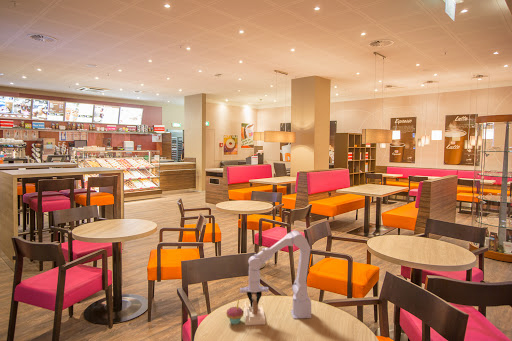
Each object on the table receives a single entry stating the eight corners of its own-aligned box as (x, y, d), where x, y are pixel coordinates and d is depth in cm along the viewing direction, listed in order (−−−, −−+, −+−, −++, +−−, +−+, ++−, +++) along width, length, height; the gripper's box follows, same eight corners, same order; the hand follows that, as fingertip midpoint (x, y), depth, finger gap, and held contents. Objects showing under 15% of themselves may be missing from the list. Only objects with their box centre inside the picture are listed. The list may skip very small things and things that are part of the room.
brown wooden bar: (255, 303, 166) (255, 294, 166) (257, 314, 156) (257, 304, 155) (251, 303, 166) (251, 294, 166) (252, 314, 155) (252, 304, 155)
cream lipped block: (262, 310, 168) (262, 302, 168) (265, 324, 155) (265, 314, 155) (243, 311, 167) (243, 302, 167) (245, 325, 154) (245, 315, 154)
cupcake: (244, 317, 161) (244, 295, 160) (242, 327, 153) (242, 303, 152) (228, 316, 162) (228, 294, 161) (224, 326, 154) (224, 302, 153)
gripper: (267, 276, 165) (267, 301, 165) (239, 277, 163) (239, 302, 164) (269, 282, 158) (268, 308, 158) (240, 283, 156) (240, 309, 157)
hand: (254, 305), depth 161 cm, fingers closed on brown wooden bar, 2 cm apart
